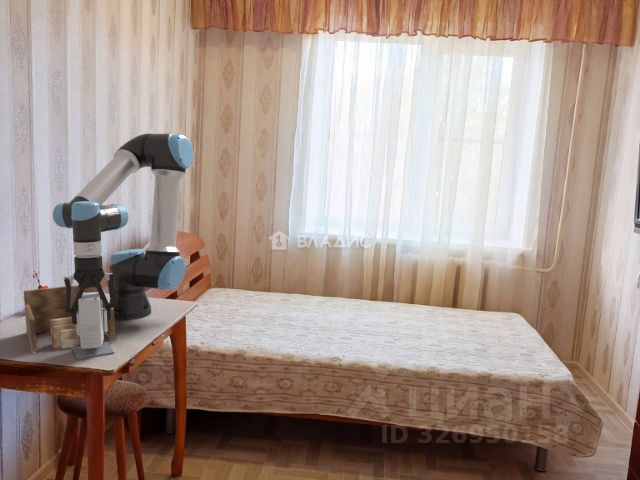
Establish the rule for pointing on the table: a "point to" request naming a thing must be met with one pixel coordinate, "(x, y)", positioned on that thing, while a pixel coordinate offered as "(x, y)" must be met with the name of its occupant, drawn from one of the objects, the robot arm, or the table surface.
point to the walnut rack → (52, 310)
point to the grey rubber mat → (93, 351)
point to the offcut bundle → (63, 333)
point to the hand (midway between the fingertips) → (92, 332)
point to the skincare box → (91, 320)
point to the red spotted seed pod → (38, 282)
